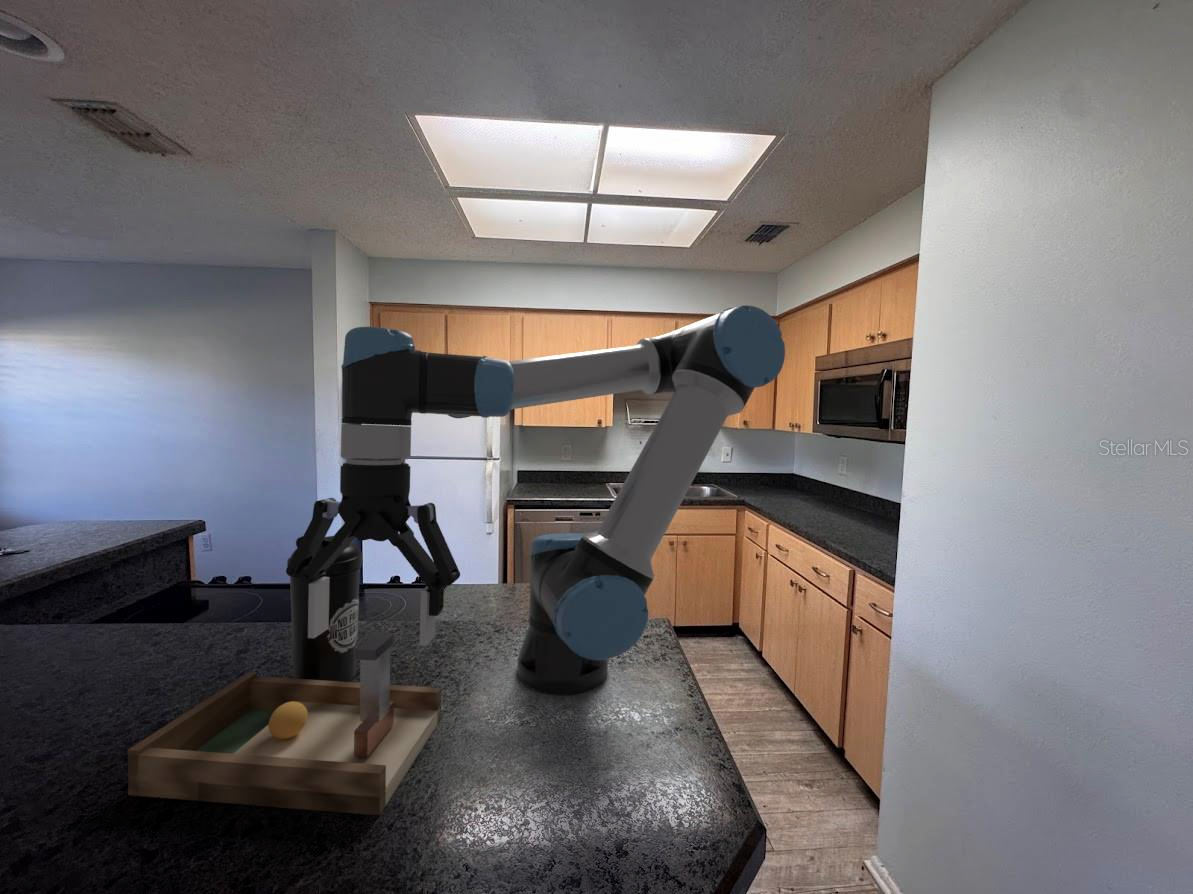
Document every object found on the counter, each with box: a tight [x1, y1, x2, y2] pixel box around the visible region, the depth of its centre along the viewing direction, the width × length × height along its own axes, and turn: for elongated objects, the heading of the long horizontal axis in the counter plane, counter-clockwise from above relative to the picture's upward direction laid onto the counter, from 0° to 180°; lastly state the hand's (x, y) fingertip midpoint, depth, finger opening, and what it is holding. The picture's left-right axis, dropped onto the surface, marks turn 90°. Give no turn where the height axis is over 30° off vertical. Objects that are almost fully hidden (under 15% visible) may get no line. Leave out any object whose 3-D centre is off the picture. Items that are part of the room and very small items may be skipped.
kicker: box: [354, 632, 395, 757], centre depth 56 cm, size 2×6×12 cm, turn 176°
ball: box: [269, 701, 308, 739], centre depth 57 cm, size 4×4×4 cm
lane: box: [127, 671, 442, 816], centre depth 57 cm, size 28×16×5 cm, turn 86°
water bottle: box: [286, 535, 363, 682], centre depth 73 cm, size 10×10×23 cm
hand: (372, 637), depth 56 cm, fingers open, 13 cm apart
